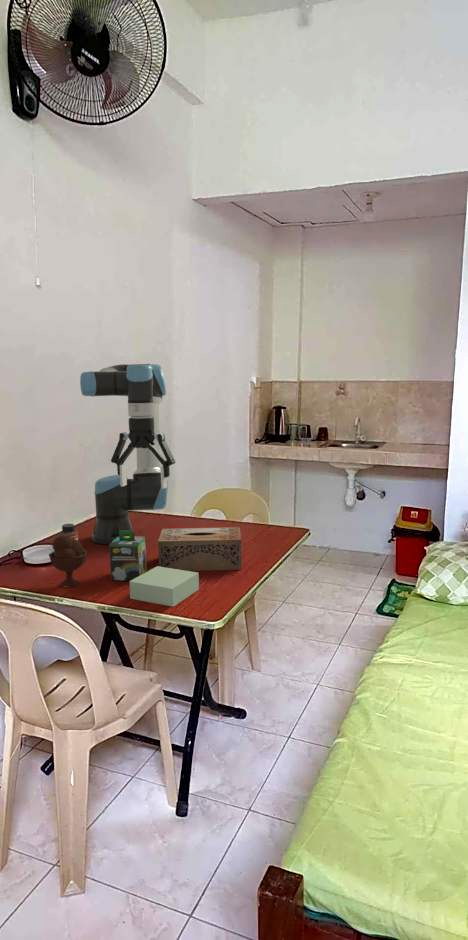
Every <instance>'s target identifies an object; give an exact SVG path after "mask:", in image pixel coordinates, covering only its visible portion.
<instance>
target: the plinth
mask: <svg viewBox="0 0 468 940" xmlns="http://www.w3.org/2000/svg"><path fill="white" fill-rule="evenodd" d="M199 580H200V577H199V572H197V571H184V570H178V569H172V568H165V567H159V565H157V566H155V567H153V568H150V569H149V570H147V572H146V573H144V574H142V575H140V576H138V577H137V578H135V579H133V580H131V581H128V582H129V598H130V599H132V600H136V601H141V602H147V603H152V604H157V605H163V606H167V607H168V606H169V607H176V606H177V605H178V604H180V603H181V602H182V601H184V600H186V599H187V598H189V597H190V596H191V595H193V594H194V593H196V592H197V591H199V589H200V583H199V582H200V581H199Z"/></svg>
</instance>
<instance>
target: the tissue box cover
mask: <svg viewBox="0 0 468 940" xmlns="http://www.w3.org/2000/svg"><path fill="white" fill-rule="evenodd" d="M159 534H160V535H159V537H158V540H157V549H158V566H159V567H165V568H172V569H178V570H184V571H191V572H197V571H233V570H234V571H235V570H236V571H238V570H240V571H241V570H242V535H241V528H240V527H238V526H237V527H233V526H232V527H231V526H230V527H192V528H191V527H185V528H184V527H183V528H181V527H180V528H161V531H160V533H159Z"/></svg>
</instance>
